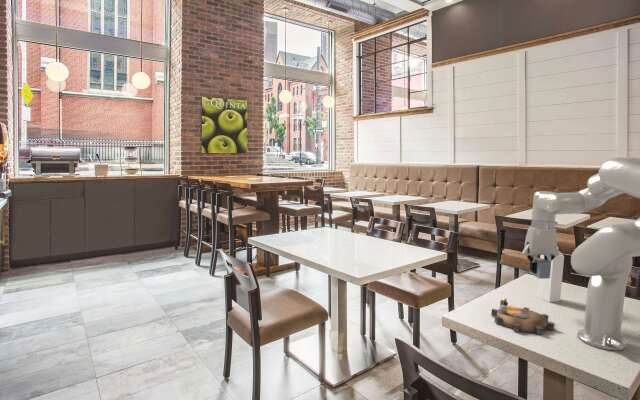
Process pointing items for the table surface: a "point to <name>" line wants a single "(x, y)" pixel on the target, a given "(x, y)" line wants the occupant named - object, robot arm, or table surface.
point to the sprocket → (522, 319)
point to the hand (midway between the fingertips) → (539, 271)
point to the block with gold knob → (504, 302)
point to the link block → (542, 269)
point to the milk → (552, 281)
